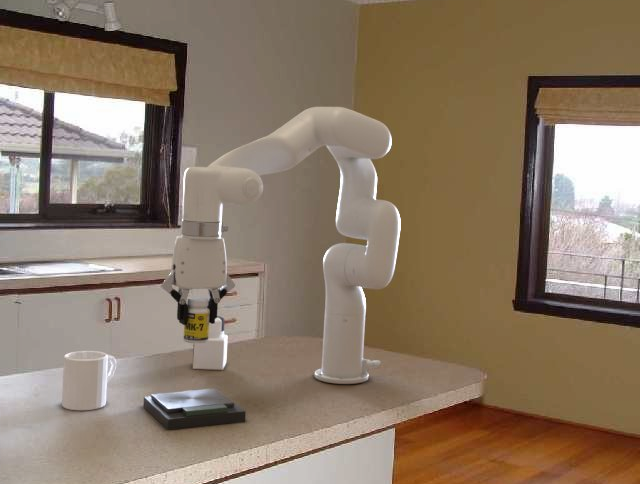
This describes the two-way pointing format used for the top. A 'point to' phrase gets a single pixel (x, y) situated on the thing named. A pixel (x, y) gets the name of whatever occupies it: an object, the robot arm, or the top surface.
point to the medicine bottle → (212, 348)
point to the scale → (195, 415)
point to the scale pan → (190, 399)
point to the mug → (86, 379)
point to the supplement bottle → (197, 321)
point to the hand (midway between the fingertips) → (196, 322)
